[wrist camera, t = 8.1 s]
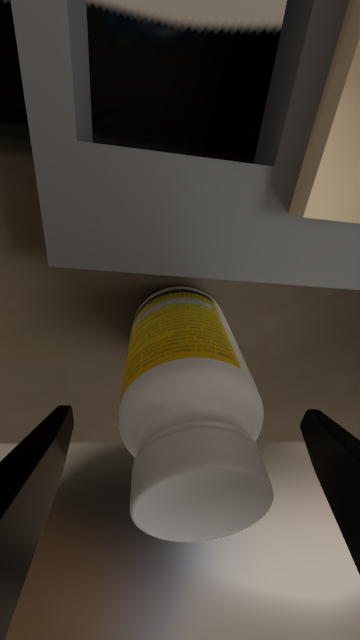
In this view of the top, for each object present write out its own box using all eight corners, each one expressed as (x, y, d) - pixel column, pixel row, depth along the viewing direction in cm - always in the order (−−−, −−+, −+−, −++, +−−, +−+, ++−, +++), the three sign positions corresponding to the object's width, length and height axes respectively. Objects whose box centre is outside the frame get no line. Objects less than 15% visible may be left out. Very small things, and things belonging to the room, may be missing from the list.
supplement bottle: (113, 319, 15) (55, 511, 6) (189, 264, 14) (242, 411, 5) (169, 375, 17) (181, 568, 9) (239, 332, 16) (331, 509, 8)
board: (726, -239, 8) (954, -405, 5) (421, 280, 15) (465, 297, 13) (-17, -547, 5) (-141, -1061, 3) (66, 251, 13) (48, 266, 11)
